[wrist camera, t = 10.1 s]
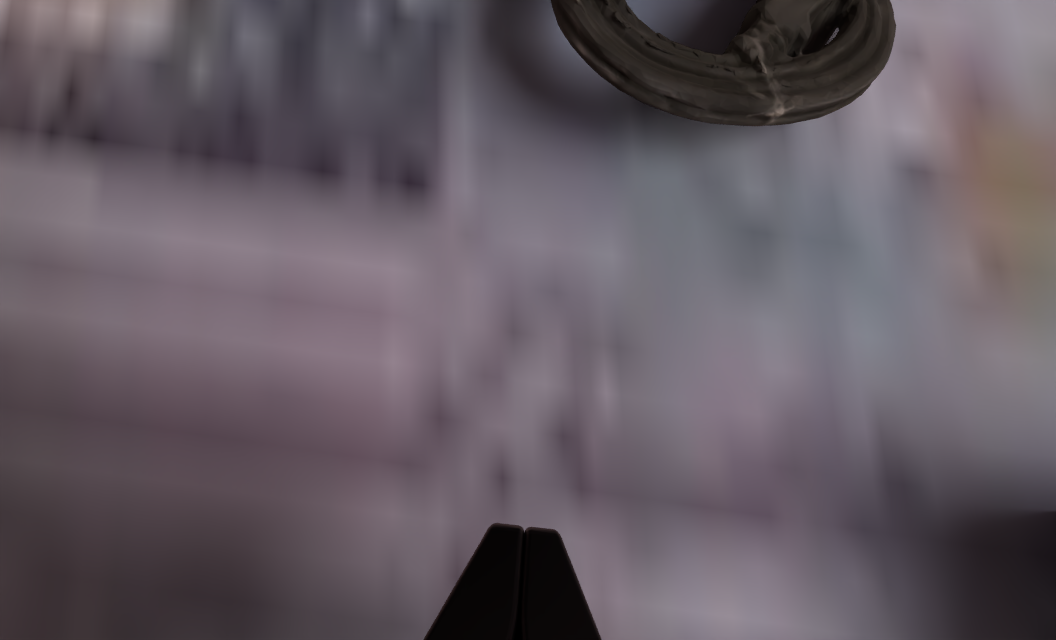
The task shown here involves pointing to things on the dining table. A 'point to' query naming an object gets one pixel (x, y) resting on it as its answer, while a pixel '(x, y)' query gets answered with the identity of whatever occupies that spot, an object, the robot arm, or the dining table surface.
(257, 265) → the dining table surface
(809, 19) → the milk frother
